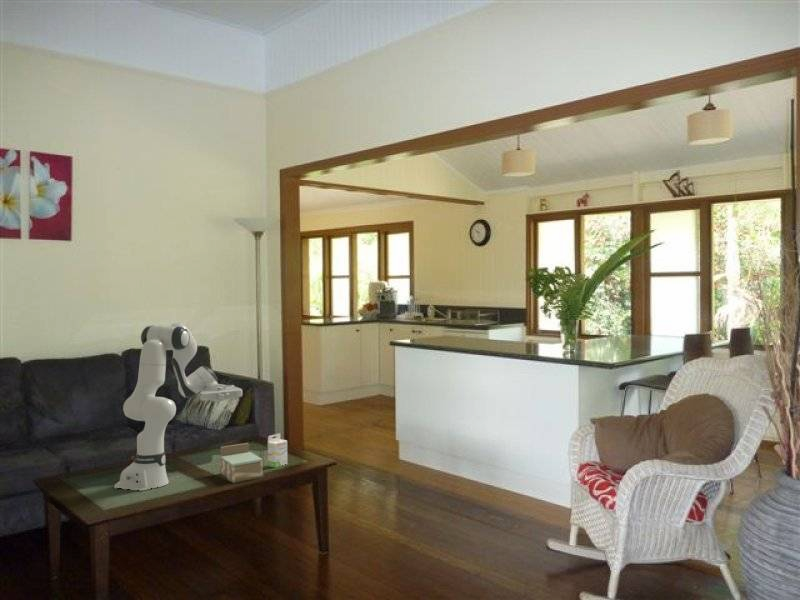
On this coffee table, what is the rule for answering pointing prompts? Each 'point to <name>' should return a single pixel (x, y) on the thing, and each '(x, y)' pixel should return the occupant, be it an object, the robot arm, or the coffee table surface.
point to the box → (241, 471)
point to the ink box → (277, 451)
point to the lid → (238, 455)
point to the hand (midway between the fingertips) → (225, 396)
